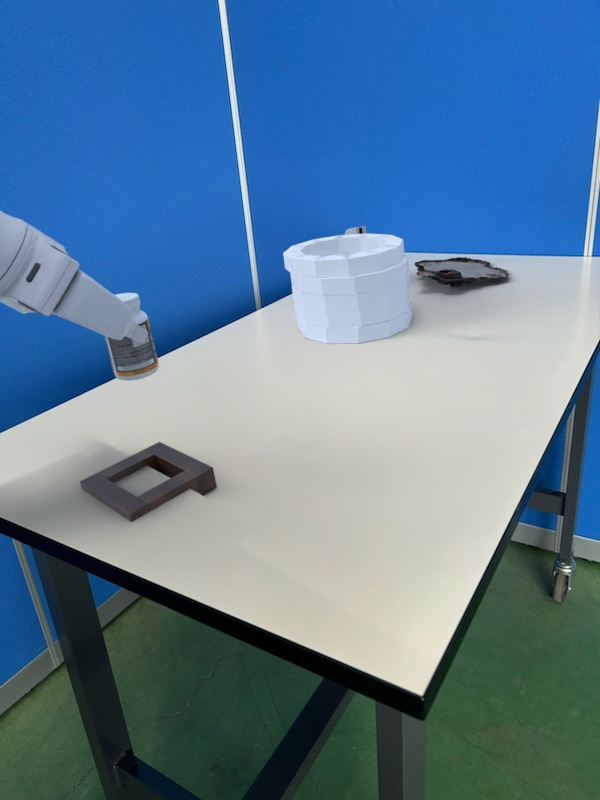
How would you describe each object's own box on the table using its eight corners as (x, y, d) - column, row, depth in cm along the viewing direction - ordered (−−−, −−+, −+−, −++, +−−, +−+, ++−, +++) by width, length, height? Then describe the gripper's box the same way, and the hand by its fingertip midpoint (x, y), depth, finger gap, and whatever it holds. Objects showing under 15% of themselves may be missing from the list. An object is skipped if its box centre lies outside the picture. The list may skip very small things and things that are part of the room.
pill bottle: (169, 368, 80) (152, 292, 75) (133, 385, 76) (114, 306, 71) (140, 362, 83) (123, 289, 79) (105, 378, 79) (85, 302, 75)
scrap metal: (428, 264, 169) (397, 288, 144) (430, 249, 167) (399, 271, 142) (514, 276, 161) (498, 304, 136) (517, 261, 159) (502, 286, 134)
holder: (135, 535, 71) (129, 514, 70) (85, 501, 79) (79, 481, 78) (217, 487, 78) (213, 467, 77) (164, 460, 86) (159, 441, 85)
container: (271, 332, 132) (260, 256, 125) (342, 301, 146) (336, 231, 139) (363, 351, 115) (357, 265, 108) (434, 314, 130) (432, 236, 123)
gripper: (-6, 283, 76) (92, 336, 85) (38, 312, 60) (152, 373, 69) (21, 239, 76) (115, 297, 85) (71, 256, 61) (180, 324, 70)
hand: (132, 331), depth 77 cm, fingers closed on pill bottle, 6 cm apart
